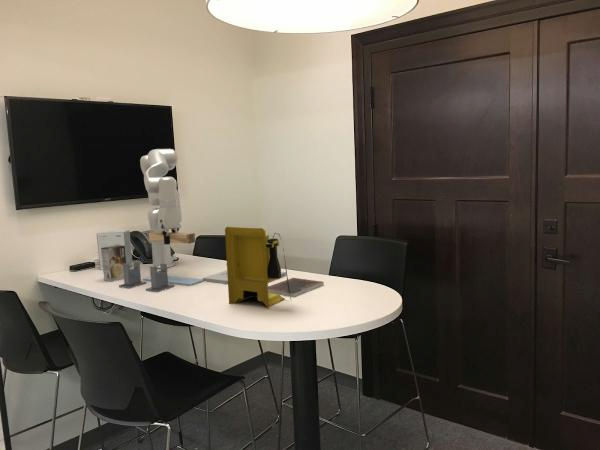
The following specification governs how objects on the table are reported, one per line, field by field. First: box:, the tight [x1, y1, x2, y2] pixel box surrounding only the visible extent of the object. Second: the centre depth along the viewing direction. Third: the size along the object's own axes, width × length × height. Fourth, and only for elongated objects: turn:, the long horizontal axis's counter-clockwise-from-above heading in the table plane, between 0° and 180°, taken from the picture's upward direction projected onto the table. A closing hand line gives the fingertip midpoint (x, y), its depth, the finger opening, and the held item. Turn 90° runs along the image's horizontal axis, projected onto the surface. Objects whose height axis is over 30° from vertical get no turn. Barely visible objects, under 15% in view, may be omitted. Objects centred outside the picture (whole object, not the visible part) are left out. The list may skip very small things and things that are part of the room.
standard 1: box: [118, 260, 148, 289], centre depth 228 cm, size 10×7×10 cm
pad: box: [142, 274, 204, 287], centre depth 235 cm, size 10×30×1 cm, turn 60°
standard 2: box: [145, 264, 175, 293], centre depth 220 cm, size 10×7×10 cm
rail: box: [146, 231, 196, 244], centre depth 233 cm, size 4×26×4 cm, turn 60°
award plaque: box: [202, 269, 287, 285], centre depth 234 cm, size 25×30×2 cm
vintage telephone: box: [224, 226, 292, 310], centre depth 191 cm, size 31×14×30 cm, turn 59°
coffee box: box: [101, 245, 126, 282], centre depth 242 cm, size 9×6×16 cm
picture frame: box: [268, 277, 324, 298], centre depth 212 cm, size 16×2×22 cm
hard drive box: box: [96, 230, 134, 269], centre depth 269 cm, size 16×8×20 cm, turn 84°
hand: (170, 243), depth 233 cm, fingers closed on rail, 4 cm apart
